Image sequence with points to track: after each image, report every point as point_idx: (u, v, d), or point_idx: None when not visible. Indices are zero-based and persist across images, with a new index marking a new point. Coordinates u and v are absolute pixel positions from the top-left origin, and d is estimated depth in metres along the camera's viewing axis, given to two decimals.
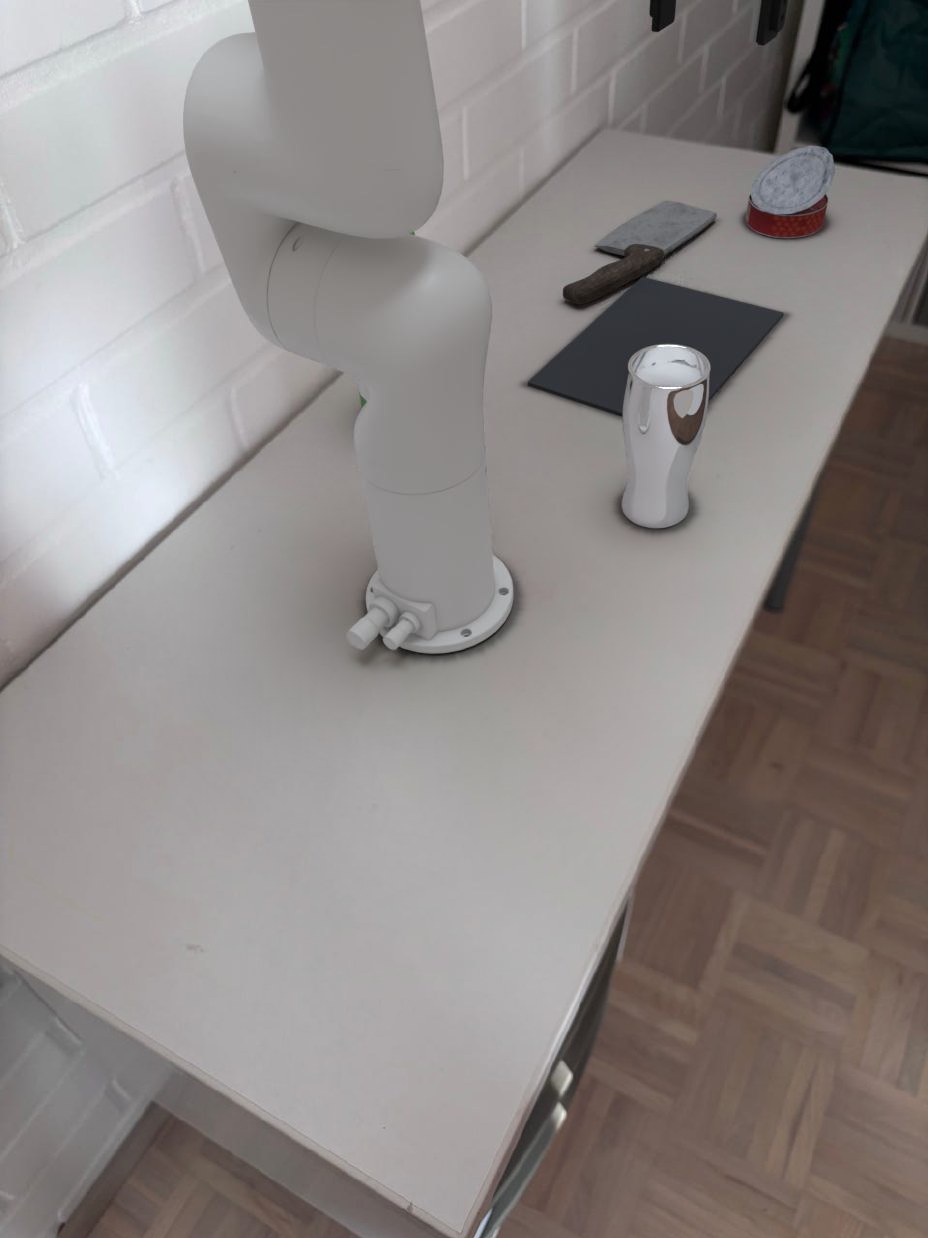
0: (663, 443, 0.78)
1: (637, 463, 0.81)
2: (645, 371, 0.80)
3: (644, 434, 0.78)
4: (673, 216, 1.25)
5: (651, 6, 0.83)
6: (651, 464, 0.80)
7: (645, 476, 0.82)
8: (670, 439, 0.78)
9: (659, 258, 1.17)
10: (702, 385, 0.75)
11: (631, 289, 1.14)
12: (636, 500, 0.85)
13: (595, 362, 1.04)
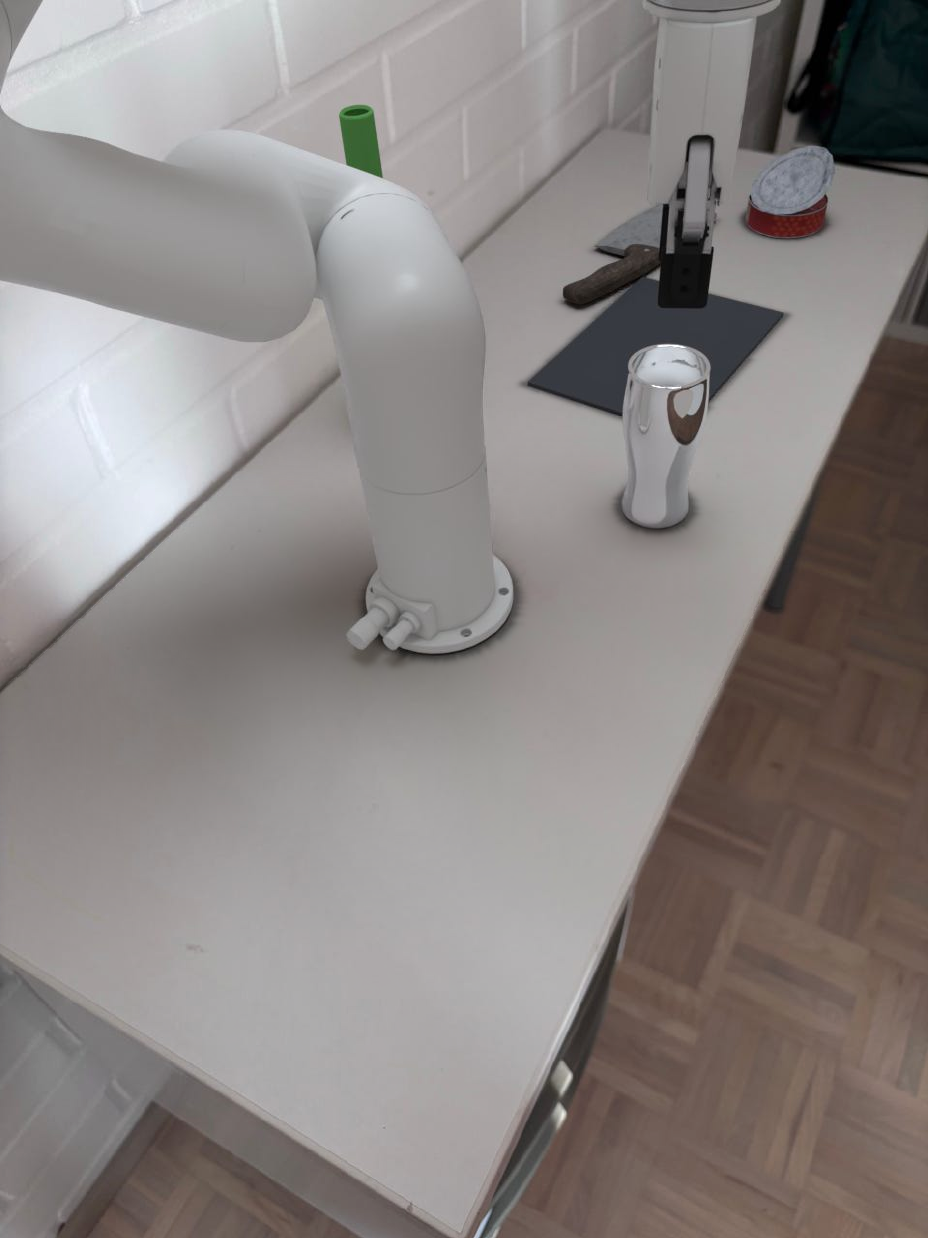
0: (663, 443, 0.78)
1: (637, 463, 0.81)
2: (645, 371, 0.80)
3: (644, 434, 0.78)
4: None
5: None
6: (651, 464, 0.80)
7: (645, 476, 0.82)
8: (670, 439, 0.78)
9: None
10: (702, 385, 0.75)
11: (631, 289, 1.14)
12: (636, 500, 0.85)
13: (595, 362, 1.04)
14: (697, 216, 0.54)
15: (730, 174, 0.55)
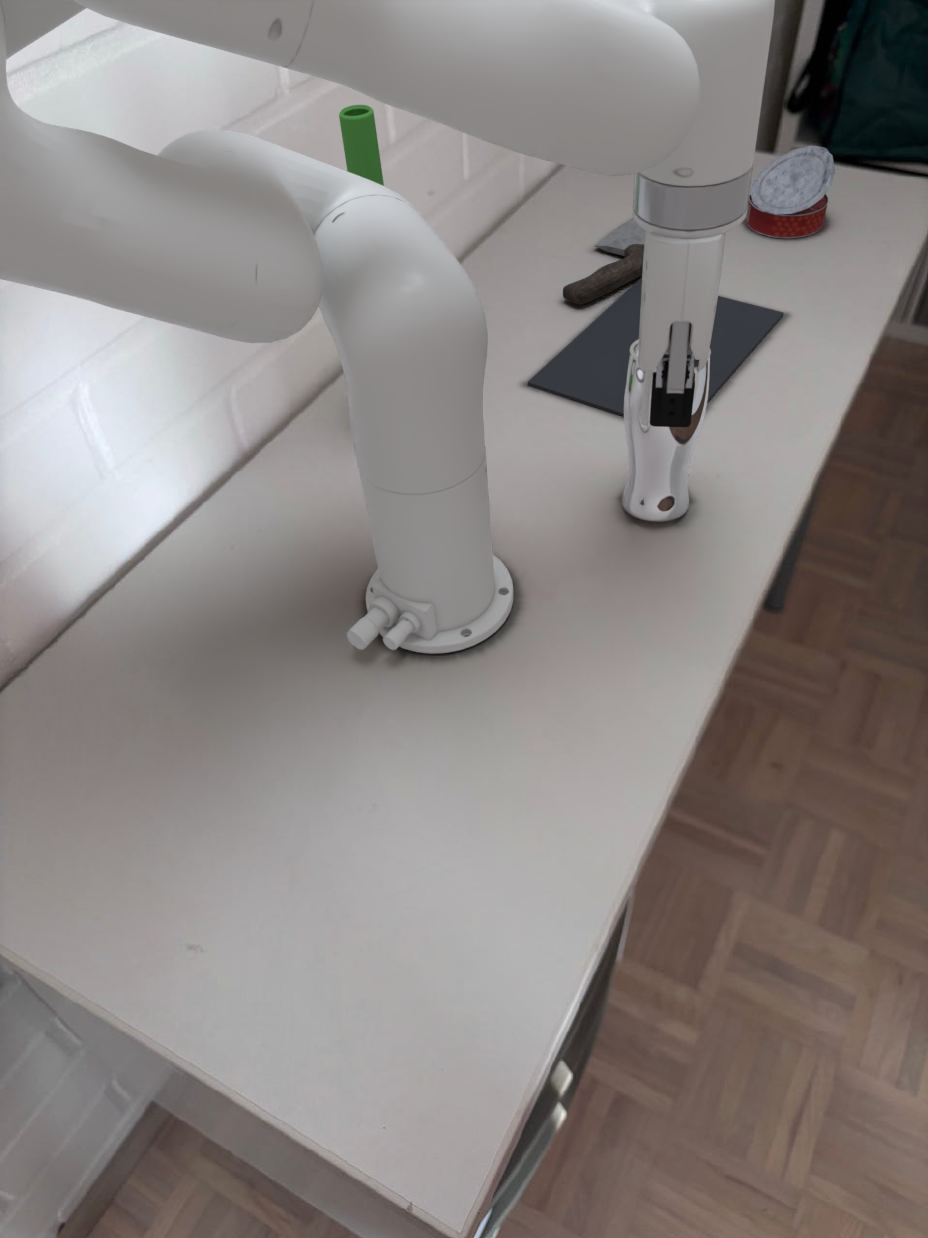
0: None
1: (638, 451, 0.81)
2: None
3: (645, 417, 0.78)
4: None
5: None
6: (652, 450, 0.80)
7: (646, 464, 0.82)
8: None
9: None
10: None
11: (631, 289, 1.14)
12: (637, 492, 0.84)
13: (595, 362, 1.04)
14: (677, 386, 0.67)
15: (706, 350, 0.66)
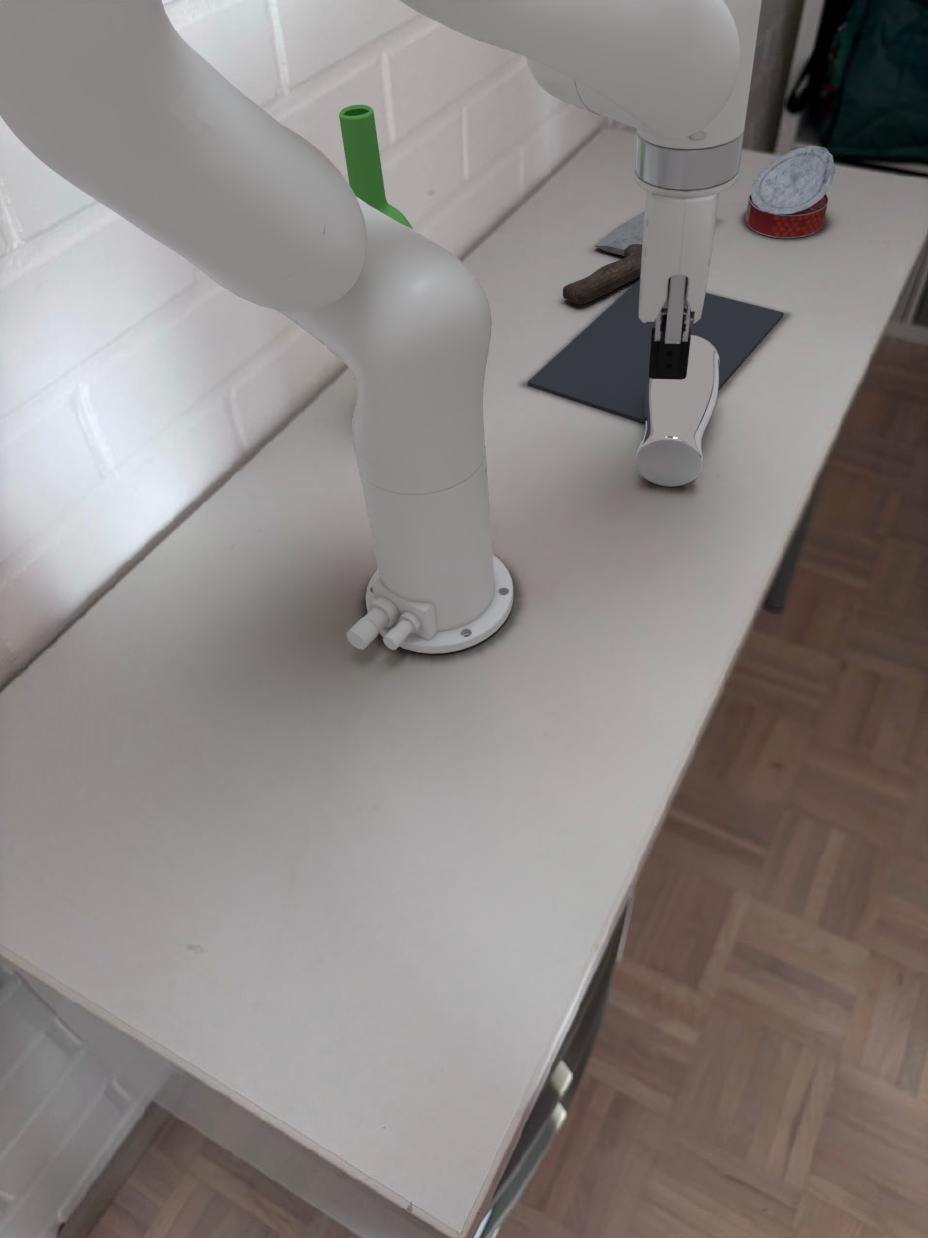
0: (695, 368, 0.90)
1: (667, 390, 0.89)
2: None
3: None
4: None
5: None
6: (681, 387, 0.89)
7: (674, 399, 0.88)
8: (700, 367, 0.90)
9: None
10: (718, 360, 0.94)
11: (631, 289, 1.14)
12: (662, 423, 0.86)
13: (595, 362, 1.04)
14: (674, 336, 0.74)
15: (701, 302, 0.72)
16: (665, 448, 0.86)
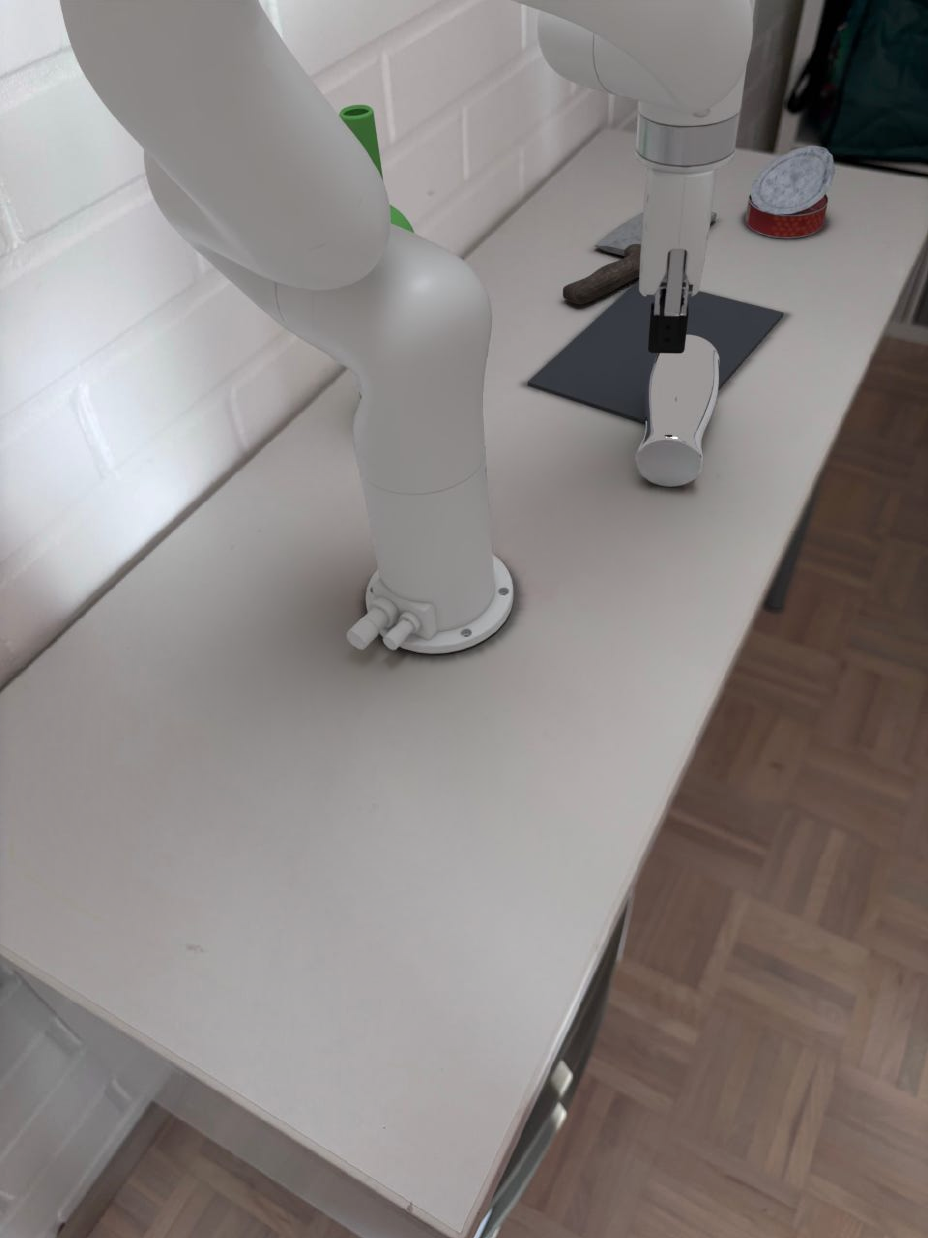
0: (695, 368, 0.90)
1: (667, 390, 0.89)
2: None
3: (678, 361, 0.90)
4: None
5: None
6: (681, 387, 0.89)
7: (674, 399, 0.88)
8: (700, 367, 0.90)
9: None
10: (718, 360, 0.94)
11: (631, 289, 1.14)
12: (662, 423, 0.86)
13: (595, 362, 1.04)
14: (674, 309, 0.77)
15: (699, 275, 0.75)
16: (665, 448, 0.86)
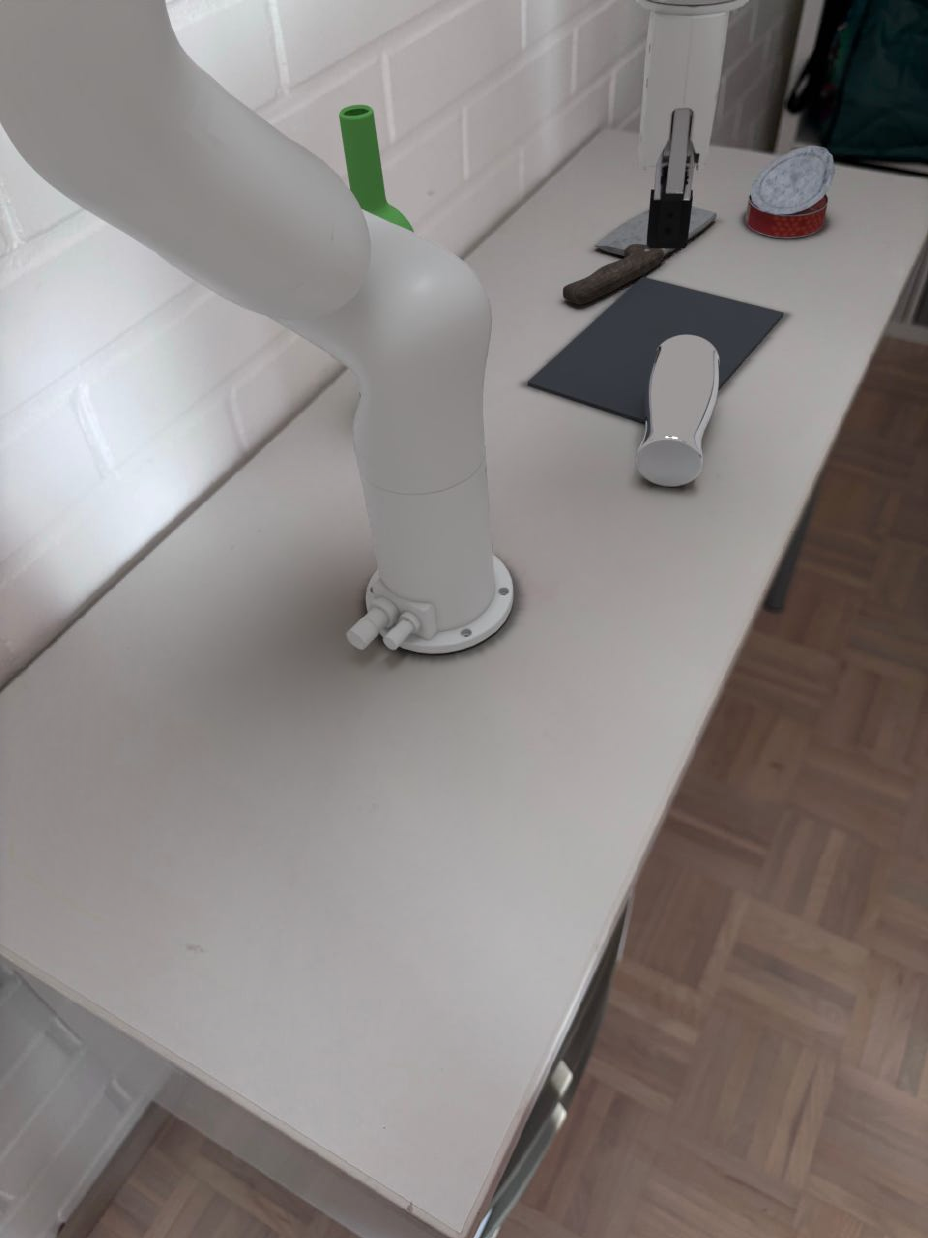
0: (695, 368, 0.90)
1: (667, 390, 0.89)
2: None
3: (678, 361, 0.90)
4: None
5: None
6: (681, 387, 0.89)
7: (674, 399, 0.88)
8: (700, 367, 0.90)
9: (659, 258, 1.17)
10: (718, 360, 0.94)
11: (631, 289, 1.14)
12: (662, 423, 0.86)
13: (595, 362, 1.04)
14: (677, 184, 0.68)
15: (706, 142, 0.66)
16: (665, 448, 0.86)
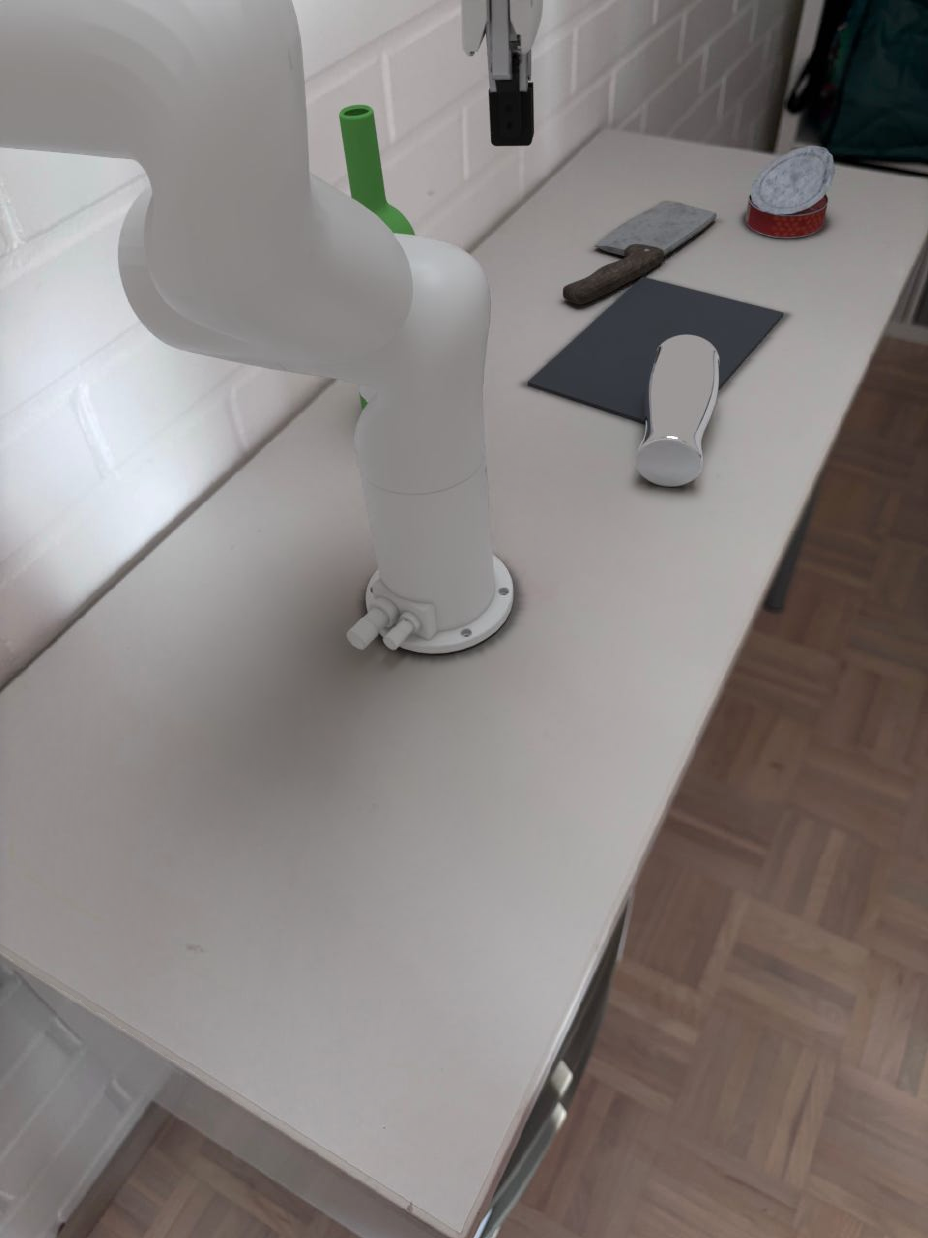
0: (695, 368, 0.90)
1: (667, 390, 0.89)
2: None
3: (678, 361, 0.90)
4: (672, 216, 1.25)
5: None
6: (681, 387, 0.89)
7: (674, 399, 0.88)
8: (700, 367, 0.90)
9: (659, 258, 1.17)
10: (718, 360, 0.94)
11: (631, 289, 1.14)
12: (662, 423, 0.86)
13: (595, 362, 1.04)
14: (502, 69, 0.66)
15: (526, 22, 0.64)
16: (665, 448, 0.86)
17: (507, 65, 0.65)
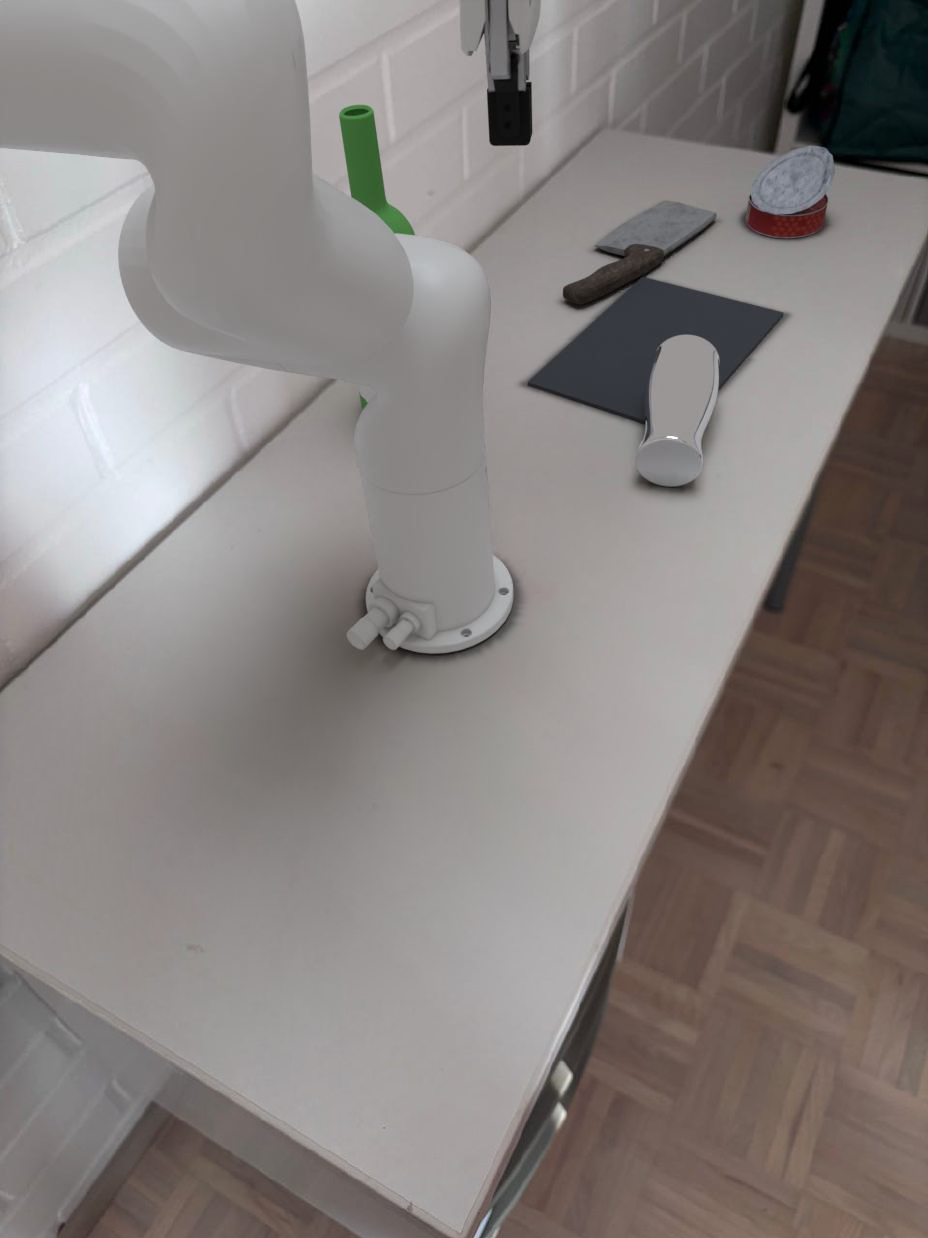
0: (695, 368, 0.90)
1: (667, 390, 0.89)
2: None
3: (678, 361, 0.90)
4: (672, 216, 1.25)
5: None
6: (681, 387, 0.89)
7: (674, 399, 0.88)
8: (700, 367, 0.90)
9: (659, 258, 1.17)
10: (718, 360, 0.94)
11: (631, 289, 1.14)
12: (662, 423, 0.86)
13: (595, 362, 1.04)
14: (500, 68, 0.66)
15: (525, 22, 0.64)
16: (665, 448, 0.86)
17: (506, 65, 0.65)
